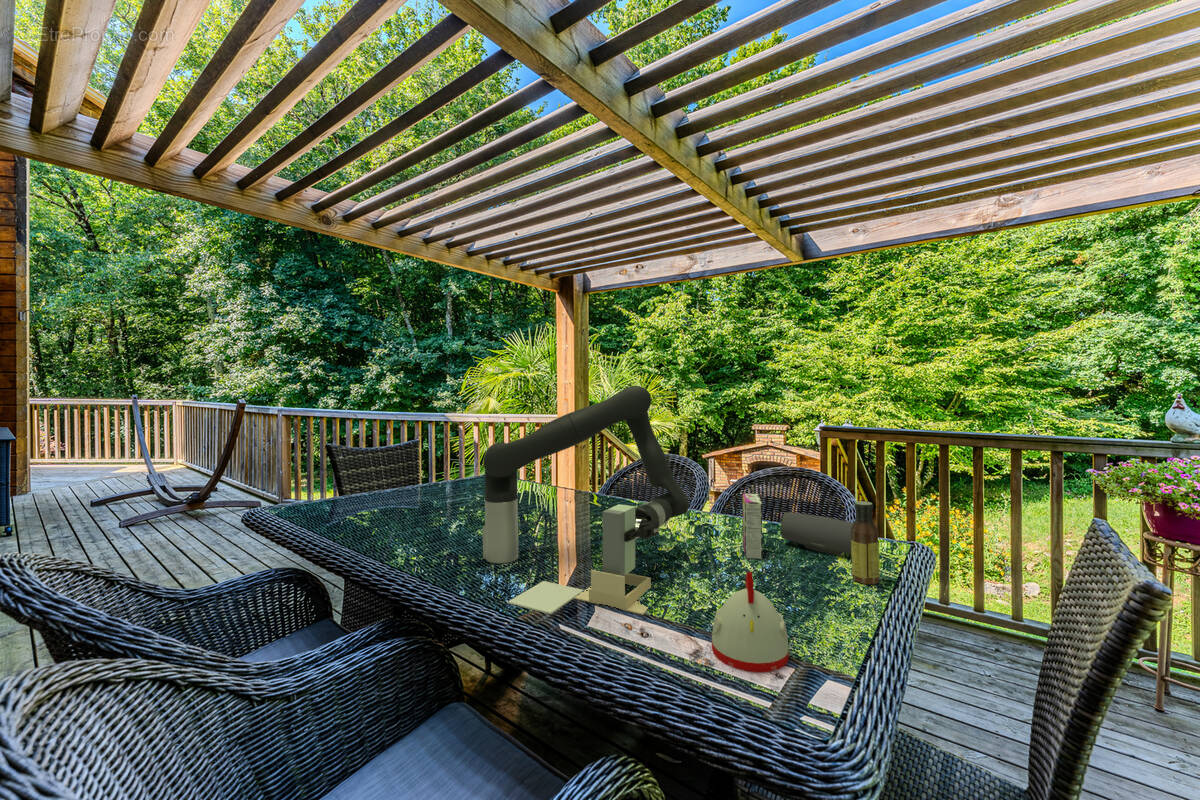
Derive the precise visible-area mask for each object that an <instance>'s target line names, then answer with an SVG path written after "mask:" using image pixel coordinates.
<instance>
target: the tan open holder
mask: <svg viewBox="0 0 1200 800" xmlns="http://www.w3.org/2000/svg"><path fill="white" fill-rule="evenodd" d="M651 580H652V578H651V577H650V576H649V577H648V576H643V575H639V574H634V573H630V572H629V573H628V574H626V575H625V576H620V575H615V574H610V573H605V572H603V571H599V570H594V569H591V570H590V584H591V585H590V586H589V587H587V588H586V589H583V590H584V592H581V593H580V594H579V595H577V596H576V597H574V599H575V600H579V601H583V602H586V601H587V603H590V604H591V603H592V604H595V603H596V604H595V605H599V604H603V605H608V606H611V607H610V608H612V607H616V608H619V609H618V610H620V609H621V610H622V611H625V612H630V613H633V614H638V615H642V616H643V615H644V614H646V612H647V611H648V610H649V609H648V607H646V606H644V605H643V604H642V605H641V604H640V603H639V602H638V601H637V600H638V599H639V597H641V595H643V594H644V593H645V592H646V591H647V590H648V589H650V588H651V589H652V587H651V582H652V581H651ZM625 584H628V585H634V586H637V587H636V588H635V587H634V588H633V589H632V590H631V591H630V592H628V593H627V594H626V586H625ZM590 587H591V588H590ZM586 590H588V591H586ZM574 599H573V600H574ZM638 603H639V604H638ZM603 605H602V606H603ZM608 606H607V607H608ZM616 608H615V609H616ZM647 609H648V610H647Z"/></svg>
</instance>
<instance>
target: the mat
mask: <svg viewBox="0 0 1200 800" xmlns="http://www.w3.org/2000/svg"><path fill="white" fill-rule="evenodd" d="M584 590H585V589H582V588H577V587H572V586H568V585H563V584H558V583H555V582H550V581H545V580H542V581H541V582H539V583H538V584H536V585H534V586H532V587H531V588H529V589H527V590H525V591H524V592H522V593H520V594H518V595H517V596H515V597H512V598H511V599H510V600H508V601H507V604H509V605H512V606H513V605H514V606H516V605H517V607H519V608H520V607H521V608H525V609H529V610H531V611H537V612H540V613H543V614H547V615H552V614H554V613H555V612H557V611H558V610H559V609H561V608H562V607H564V606H566V605H567V604H568V603H569V602H571V601H572V600H574V597H576V596H577V595H578V594H580V593H581V592H582V591H584Z"/></svg>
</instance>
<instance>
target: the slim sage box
mask: <svg viewBox="0 0 1200 800" xmlns="http://www.w3.org/2000/svg"><path fill="white" fill-rule="evenodd" d="M635 508H636V506H634V505H627V504H619V503H618V504H617V505H614V506H612V507H610V508H608V509H606V510H603V511H602V572H605V573H610V574H615V575H620V576H625V575H626V574H628V573H629V574H630V572H632V571H633V570H634V569H636V539H633V540H630V541H629V542H625V541H624V534H625V532H627V531H628V530H630V529H633V527H635Z"/></svg>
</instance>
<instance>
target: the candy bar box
mask: <svg viewBox="0 0 1200 800" xmlns="http://www.w3.org/2000/svg"><path fill="white" fill-rule="evenodd" d="M741 494H742V547H743V552H744V557H745V559H748V560H763V502H762V499H761V497H760V494H759V493H747V492H746V493H741Z"/></svg>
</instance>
